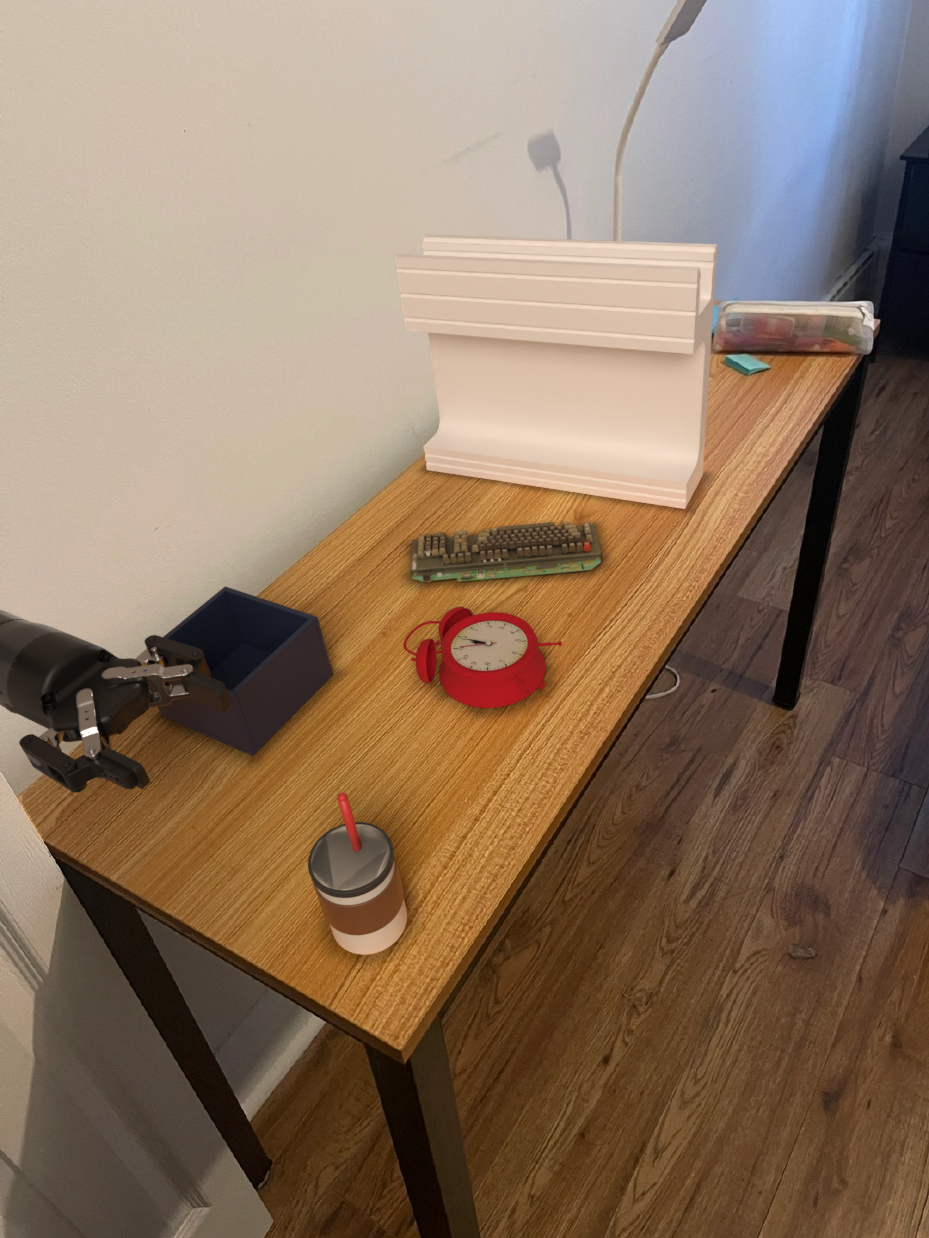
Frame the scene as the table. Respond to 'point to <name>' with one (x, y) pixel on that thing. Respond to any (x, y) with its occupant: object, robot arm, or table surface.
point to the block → (567, 361)
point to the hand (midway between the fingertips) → (186, 737)
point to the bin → (250, 667)
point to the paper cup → (358, 884)
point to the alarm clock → (483, 658)
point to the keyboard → (506, 552)
